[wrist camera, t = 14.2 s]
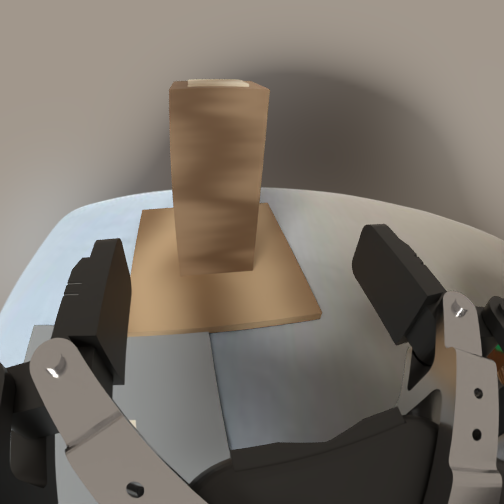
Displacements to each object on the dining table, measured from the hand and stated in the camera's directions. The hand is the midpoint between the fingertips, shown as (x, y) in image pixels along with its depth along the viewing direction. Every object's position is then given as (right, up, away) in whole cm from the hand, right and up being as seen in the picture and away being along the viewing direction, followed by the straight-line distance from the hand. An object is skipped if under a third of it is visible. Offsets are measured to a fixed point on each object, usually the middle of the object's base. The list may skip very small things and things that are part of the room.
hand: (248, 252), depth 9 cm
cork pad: (-3, 0, +13) cm, 13 cm away
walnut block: (-3, 0, +13) cm, 13 cm away
